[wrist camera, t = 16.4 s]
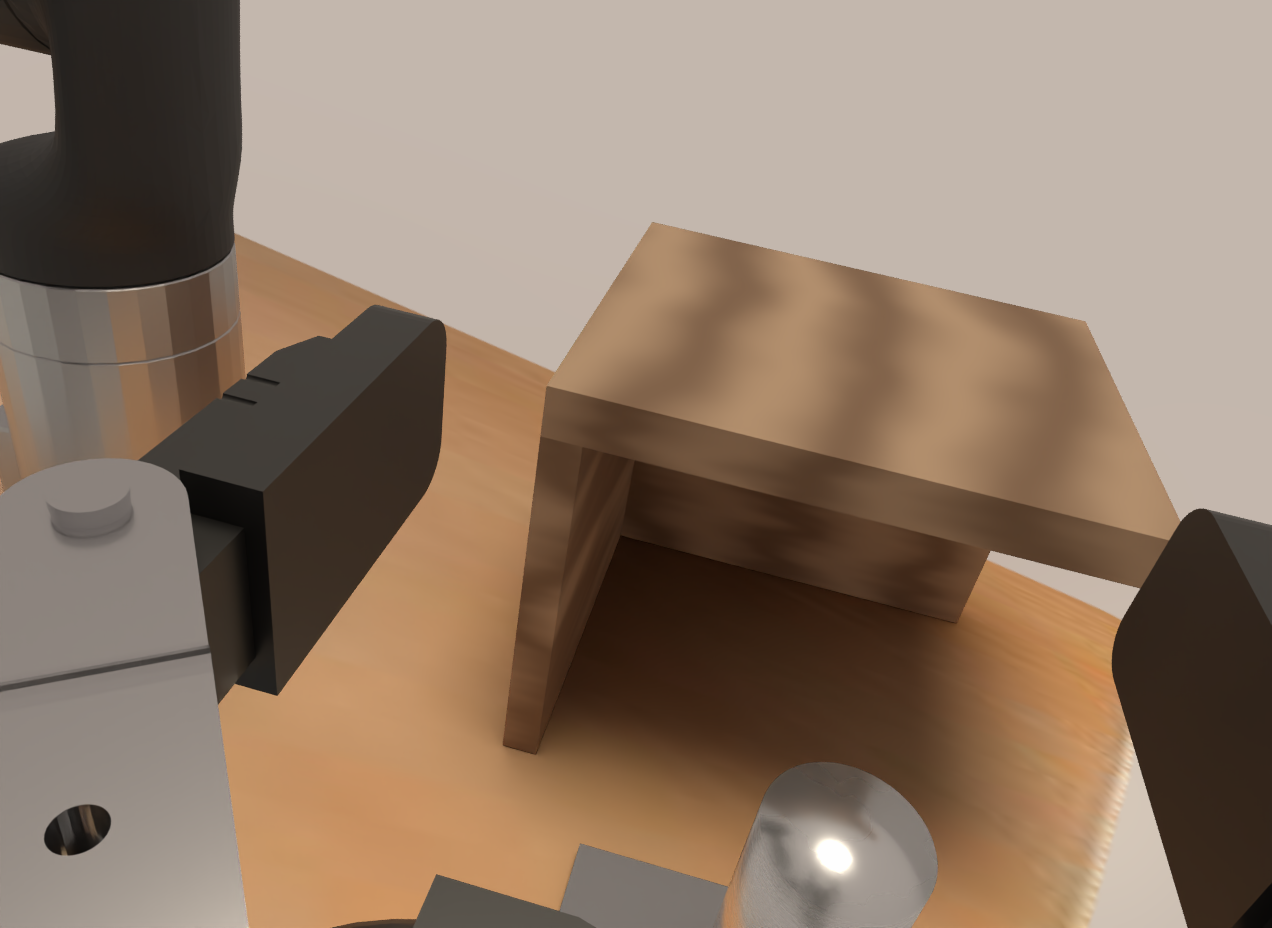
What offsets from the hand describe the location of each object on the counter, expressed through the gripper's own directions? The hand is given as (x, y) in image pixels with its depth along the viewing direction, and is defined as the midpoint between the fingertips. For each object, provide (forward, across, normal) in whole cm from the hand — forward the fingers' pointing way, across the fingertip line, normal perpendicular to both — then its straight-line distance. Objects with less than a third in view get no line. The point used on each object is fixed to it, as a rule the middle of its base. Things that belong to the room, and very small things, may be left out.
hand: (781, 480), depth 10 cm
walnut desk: (+27, -4, +28) cm, 39 cm away
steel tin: (+9, -5, +27) cm, 29 cm away
